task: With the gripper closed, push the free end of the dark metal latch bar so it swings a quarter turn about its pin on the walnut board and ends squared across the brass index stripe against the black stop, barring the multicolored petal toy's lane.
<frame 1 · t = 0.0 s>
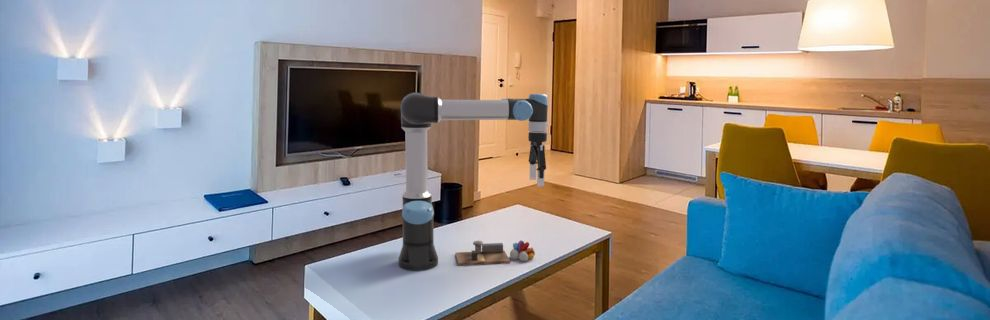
hand: (536, 182, 221), 28 cm above the table, fingers open, 13 cm apart
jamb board: (482, 258, 211), on the table
latch bar: (492, 247, 216), point 3 cm above the table, hinge at 0.0°
multicolored petal toy: (522, 259, 212), on the table
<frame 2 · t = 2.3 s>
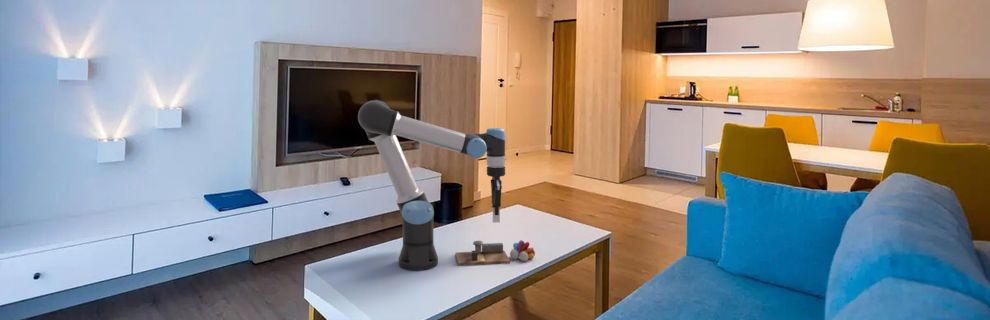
hand: (496, 221, 221), 12 cm above the table, fingers closed
nothing on the table moved.
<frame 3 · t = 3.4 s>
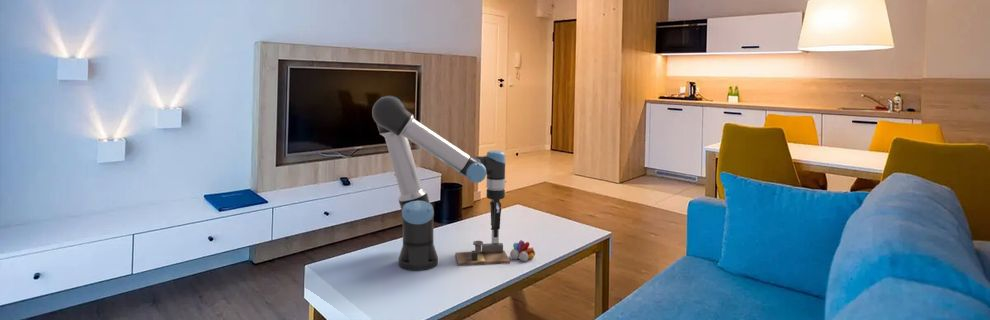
hand: (495, 243, 222), 2 cm above the table, fingers closed
nothing on the table moved.
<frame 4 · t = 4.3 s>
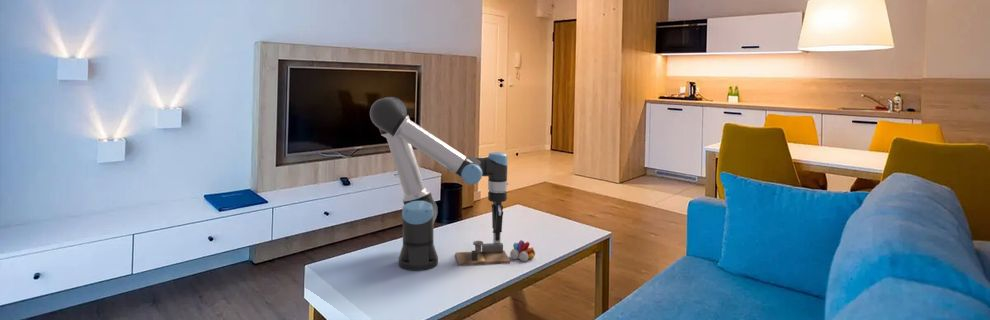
hand: (496, 247, 218), 2 cm above the table, fingers closed
latch bar: (492, 247, 216), point 3 cm above the table, hinge at 0.0°, touching gripper
everything else where it was.
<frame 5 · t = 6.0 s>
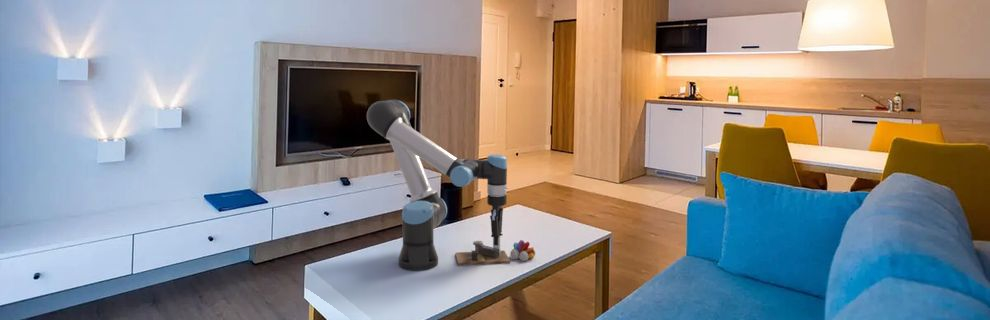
hand: (496, 252, 212), 2 cm above the table, fingers closed
latch bar: (489, 251, 211), point 3 cm above the table, hinge at -47.9°, touching gripper
everything else where it was.
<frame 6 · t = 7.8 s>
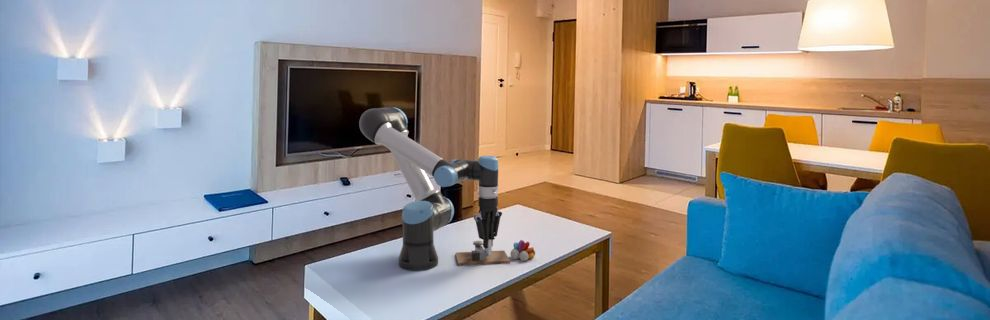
hand: (487, 255, 208), 2 cm above the table, fingers closed
latch bar: (480, 253, 209), point 3 cm above the table, hinge at -87.3°, touching gripper
everything else where it was.
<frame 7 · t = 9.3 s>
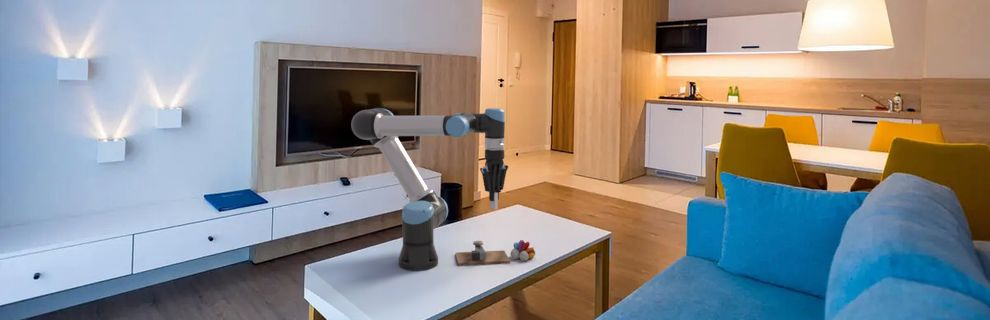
hand: (493, 208, 208), 20 cm above the table, fingers closed
latch bar: (480, 253, 209), point 3 cm above the table, hinge at -87.3°
everything else where it was.
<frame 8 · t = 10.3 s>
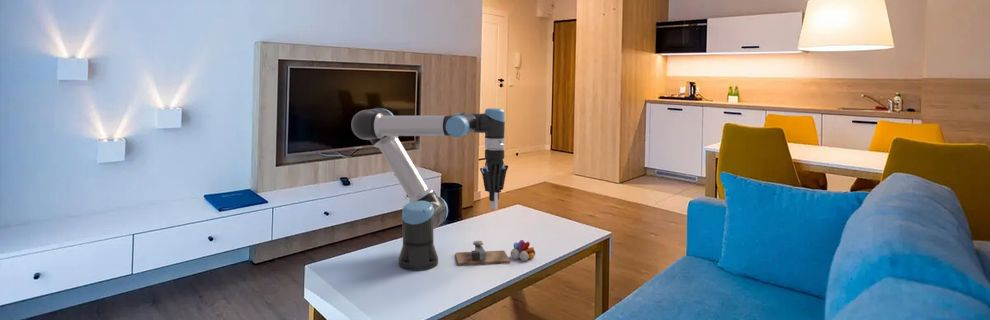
hand: (493, 208, 208), 20 cm above the table, fingers closed
nothing on the table moved.
at the end: latch bar at -87° (first picture: +0°); multicolored petal toy moved 0.7 cm from its start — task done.
